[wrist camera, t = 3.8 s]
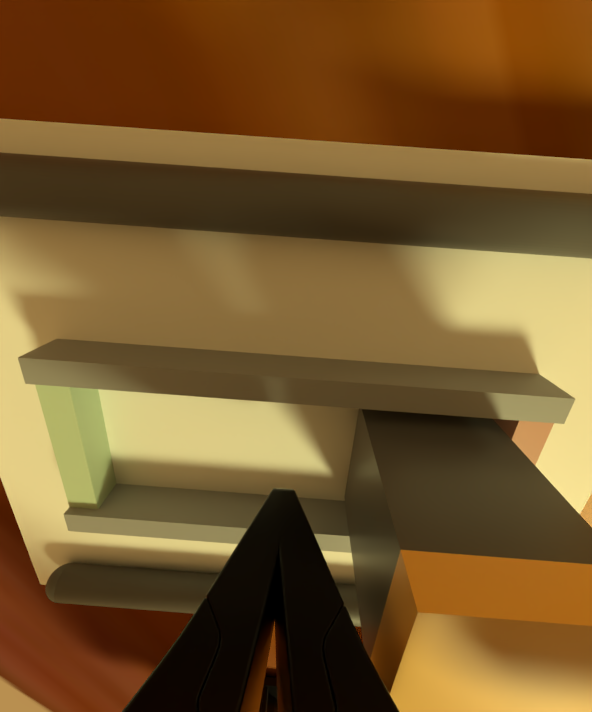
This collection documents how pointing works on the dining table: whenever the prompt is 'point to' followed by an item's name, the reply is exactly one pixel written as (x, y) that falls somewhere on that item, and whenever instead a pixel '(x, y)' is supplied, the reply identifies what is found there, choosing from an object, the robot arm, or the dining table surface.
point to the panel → (265, 335)
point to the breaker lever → (467, 568)
